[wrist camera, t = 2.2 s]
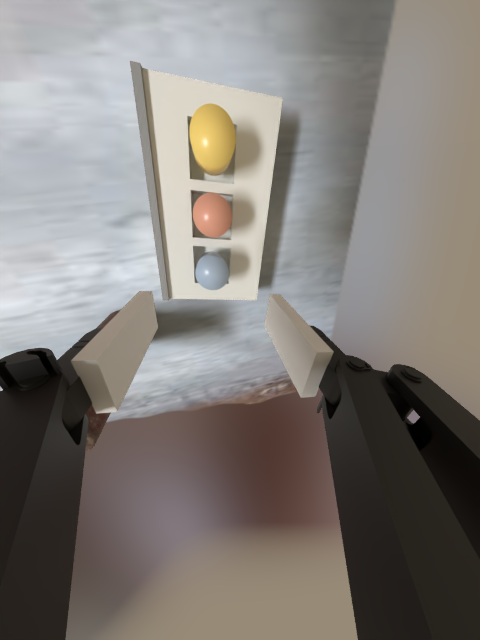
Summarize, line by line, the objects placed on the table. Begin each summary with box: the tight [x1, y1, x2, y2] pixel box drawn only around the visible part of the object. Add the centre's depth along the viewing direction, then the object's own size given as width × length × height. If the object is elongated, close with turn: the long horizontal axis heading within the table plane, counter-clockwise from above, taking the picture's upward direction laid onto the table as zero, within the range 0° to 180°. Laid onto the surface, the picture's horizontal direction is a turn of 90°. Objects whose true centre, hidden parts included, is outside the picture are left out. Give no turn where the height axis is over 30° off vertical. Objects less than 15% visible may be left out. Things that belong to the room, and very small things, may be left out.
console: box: [130, 61, 283, 300], centre depth 24 cm, size 22×14×6 cm, turn 176°
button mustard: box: [189, 103, 236, 176], centre depth 17 cm, size 4×4×4 cm
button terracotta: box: [193, 193, 232, 237], centre depth 20 cm, size 4×4×4 cm
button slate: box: [195, 251, 229, 290], centre depth 23 cm, size 4×4×4 cm
